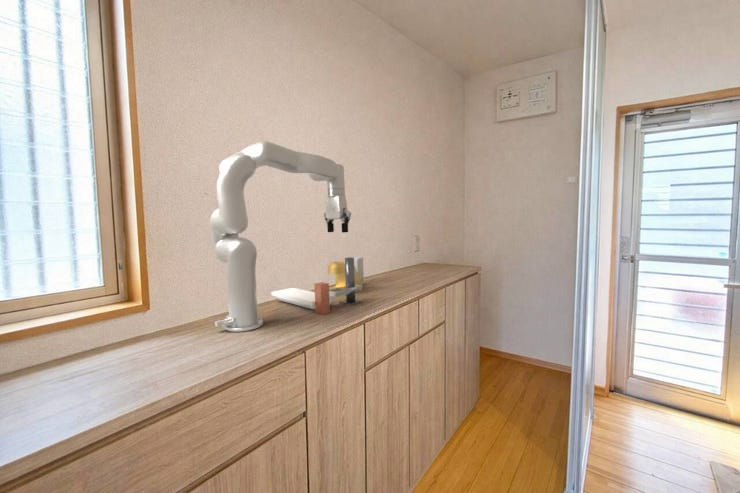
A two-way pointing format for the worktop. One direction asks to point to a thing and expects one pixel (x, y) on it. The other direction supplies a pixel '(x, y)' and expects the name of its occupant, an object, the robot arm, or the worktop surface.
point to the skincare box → (359, 267)
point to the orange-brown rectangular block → (322, 298)
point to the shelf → (298, 297)
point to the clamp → (341, 275)
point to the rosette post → (347, 285)
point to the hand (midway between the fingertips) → (337, 232)
